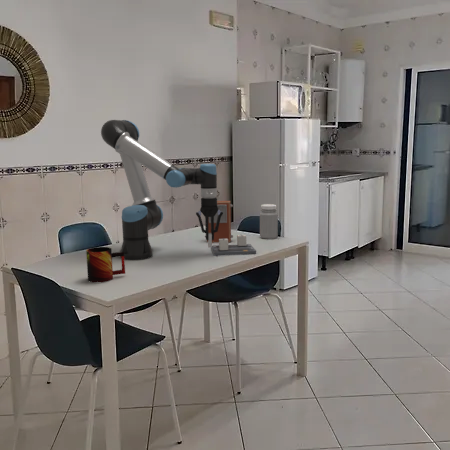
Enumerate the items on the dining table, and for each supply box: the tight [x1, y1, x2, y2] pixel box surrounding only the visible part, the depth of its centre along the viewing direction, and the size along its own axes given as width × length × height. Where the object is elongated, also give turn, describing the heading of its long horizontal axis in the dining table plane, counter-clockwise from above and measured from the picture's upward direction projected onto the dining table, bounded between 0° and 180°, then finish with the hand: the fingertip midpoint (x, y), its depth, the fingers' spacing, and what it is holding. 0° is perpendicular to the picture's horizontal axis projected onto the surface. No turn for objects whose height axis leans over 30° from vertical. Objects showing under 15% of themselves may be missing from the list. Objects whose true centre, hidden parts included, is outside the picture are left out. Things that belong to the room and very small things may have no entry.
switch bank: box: [210, 243, 257, 257], centre depth 252 cm, size 20×16×2 cm
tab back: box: [236, 234, 247, 246], centre depth 256 cm, size 4×4×5 cm
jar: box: [259, 203, 279, 240], centre depth 283 cm, size 10×10×18 cm
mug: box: [85, 246, 126, 283], centre depth 206 cm, size 10×14×12 cm
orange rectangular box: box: [204, 200, 234, 243], centre depth 274 cm, size 21×7×15 cm
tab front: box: [218, 238, 229, 250], centre depth 247 cm, size 4×4×5 cm
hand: (210, 246), depth 246 cm, fingers closed
